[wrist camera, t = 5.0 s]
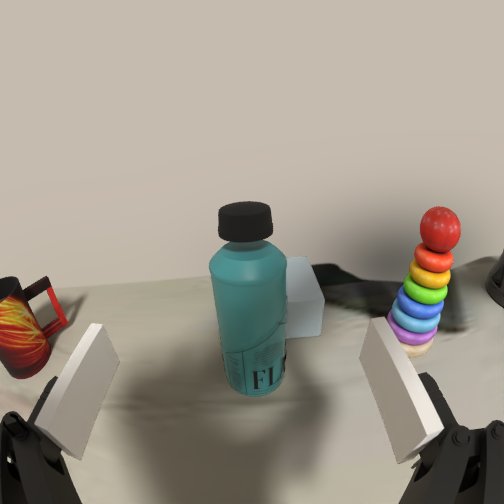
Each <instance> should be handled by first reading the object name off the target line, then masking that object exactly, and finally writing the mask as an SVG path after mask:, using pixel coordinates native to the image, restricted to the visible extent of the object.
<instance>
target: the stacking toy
mask: <svg viewBox="0 0 504 504" xmlns="http://www.w3.org/2000/svg"><path fill="white" fill-rule="evenodd" d="M420 234H421V237H422V240H423V243H420V244H419V245H418V246H417V247H416V249H415V253H414V255H415V259H414V260H413V261H412V262H411V264H410V267H409V272H410V273H408V274H407V276H406V277H405V279H404V285H403V286H402V287H401V288H400V289H399V291H398V294H397V298H396V299H395V301H394V303H393V305H392V310H391V311H390V312H389V314H388V316H387V322H388V324H389V325H390V327H391V329H392V330H393V332H394V334H395V335H396V337H397V339H398V341H399V342H400V344H401V346H402V347H403V349H404V351H405V353H406V354H407V356H408V357H417V356H420V355H422V354H424V353H426V352H427V351H428V350H429V349H430V347H431V345H432V343H433V337H434V336H435V334H436V331H437V325H438V323H439V320H440V312H441V310H442V309H443V305H444V301H443V299H444V298H445V297H446V295H447V284H448V282H449V280H450V271H449V269H450V268H451V266H452V264H453V256H452V254H451V252H450V250H451V249H452V248H454V247H455V246H456V244H457V243H458V241H459V238H460V234H461V227H460V222H459V219H458V218H457V216H456V215H455V213H454V212H452V211H451V210H450V209H448V208H445V207H434V208H431V209H430V210H428V211H427V212H426V213H425V214H424V216H423V218H422V220H421V224H420Z"/></svg>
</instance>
